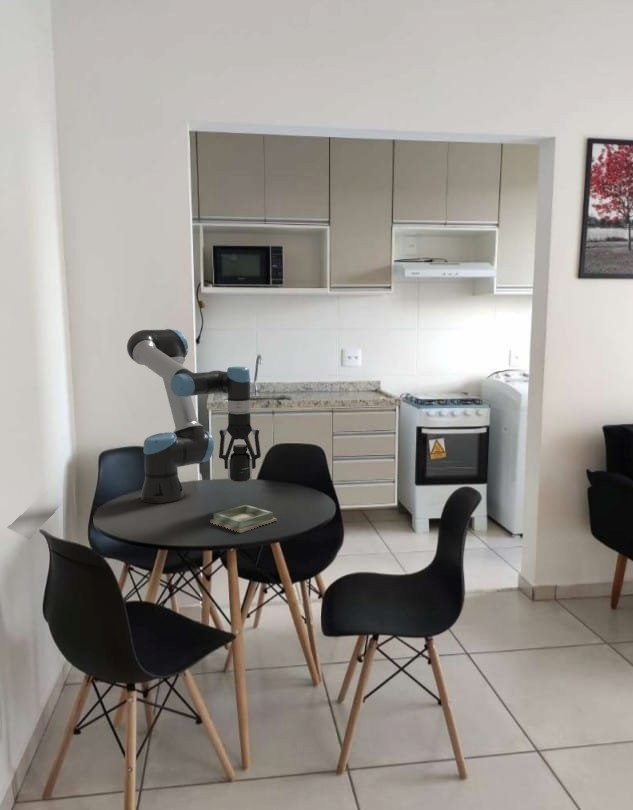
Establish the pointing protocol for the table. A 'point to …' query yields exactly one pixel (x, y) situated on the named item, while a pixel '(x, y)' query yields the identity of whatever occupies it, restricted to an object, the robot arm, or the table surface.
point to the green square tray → (243, 518)
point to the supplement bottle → (240, 464)
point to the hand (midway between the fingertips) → (240, 477)
